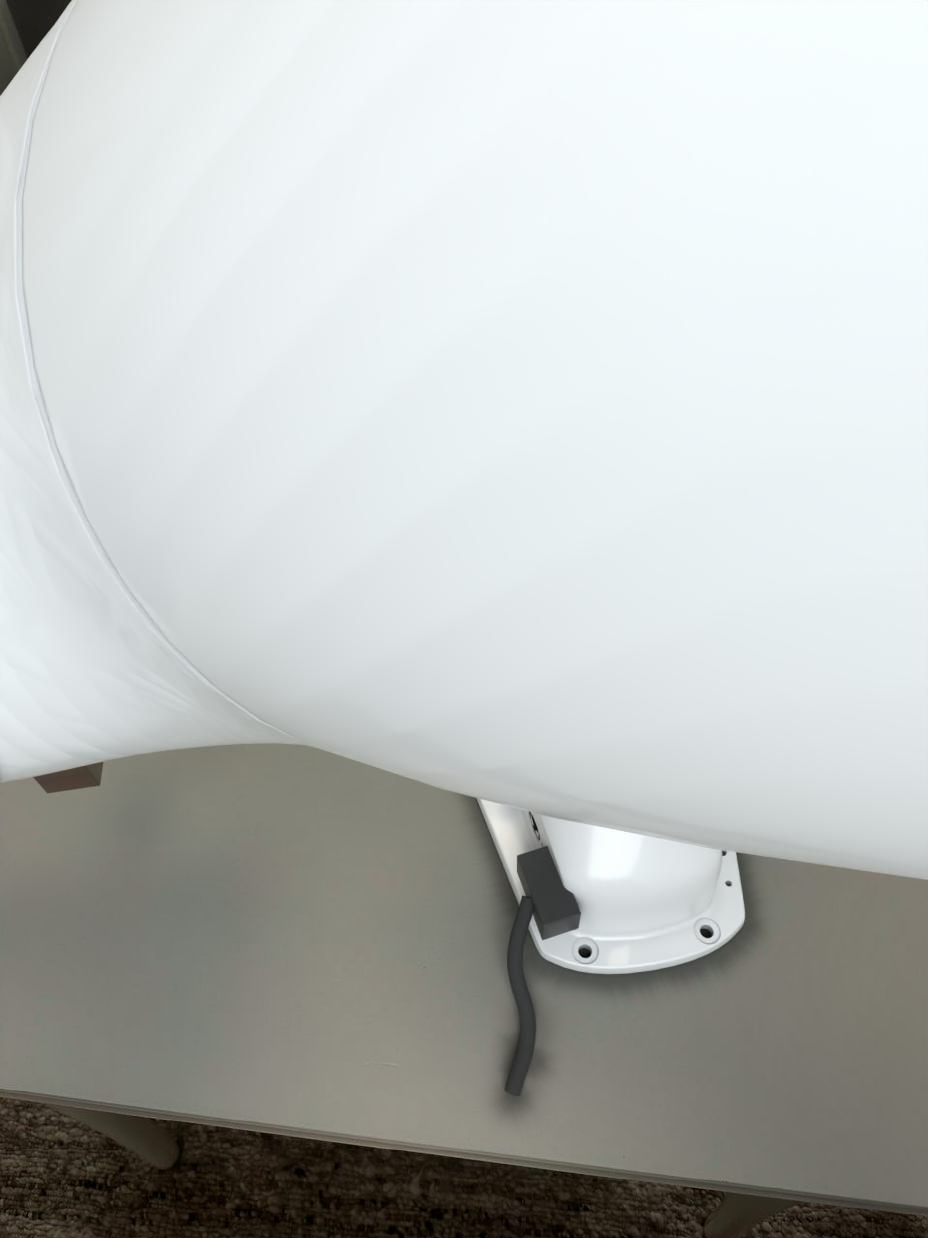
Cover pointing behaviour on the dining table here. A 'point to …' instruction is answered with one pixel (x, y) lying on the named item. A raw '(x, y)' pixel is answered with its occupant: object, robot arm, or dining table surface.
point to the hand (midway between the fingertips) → (77, 687)
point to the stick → (71, 778)
